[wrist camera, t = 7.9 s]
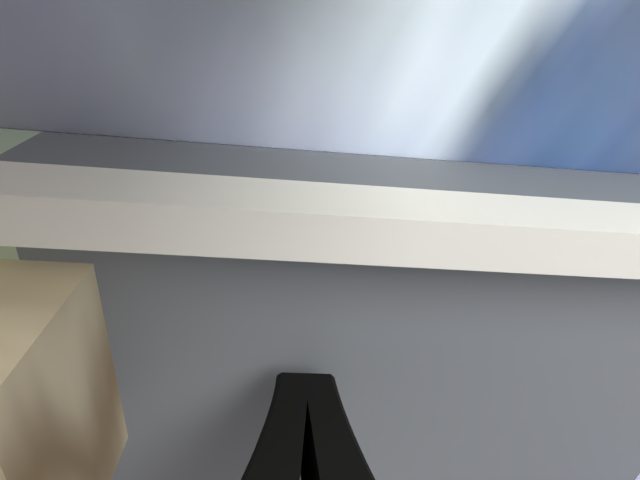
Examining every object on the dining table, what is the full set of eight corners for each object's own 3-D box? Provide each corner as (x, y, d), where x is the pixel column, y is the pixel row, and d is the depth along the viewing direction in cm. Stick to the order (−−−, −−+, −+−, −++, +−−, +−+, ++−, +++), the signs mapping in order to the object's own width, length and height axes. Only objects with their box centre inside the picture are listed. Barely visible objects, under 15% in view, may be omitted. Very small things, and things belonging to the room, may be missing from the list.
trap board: (520, 556, 21) (570, 684, 17) (0, 556, 19) (-76, 699, 15) (750, 182, 12) (980, 279, 8) (-238, 111, 10) (-600, 191, 6)
